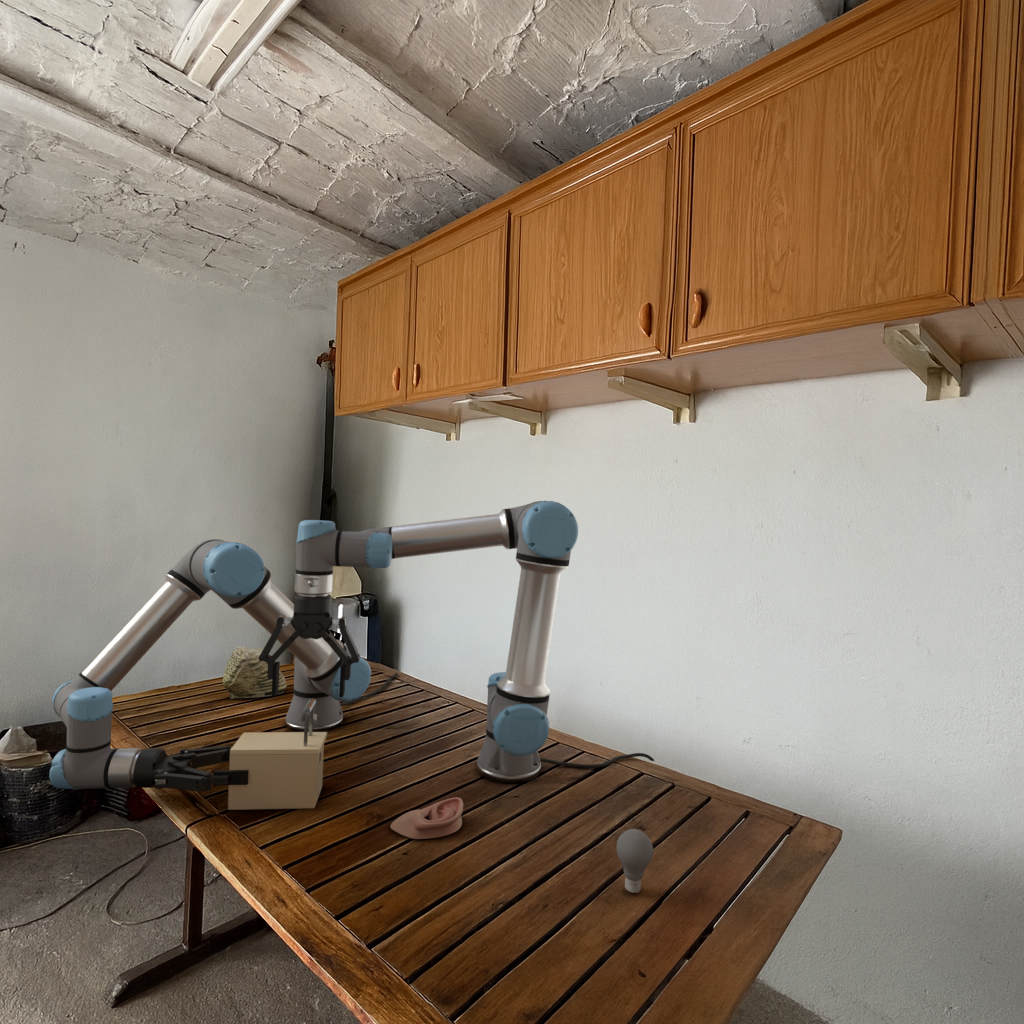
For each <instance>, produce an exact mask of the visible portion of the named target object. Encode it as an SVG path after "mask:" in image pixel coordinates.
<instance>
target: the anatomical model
mask: <svg viewBox="0 0 1024 1024" xmlns="http://www.w3.org/2000/svg"><path fill="white" fill-rule="evenodd" d="M463 812H464V801H463V799H462V797H450V798H446V799H443V800H440V801H438V802H435V803H433V804H430V805H428V806H426V807H424V808H421V809H413V810H410V811H408V812H405V813H404V814H402V815H400V816H398V817H397V818H395V819H394V820H393V821H392V822H391V824H390V829H391V830H392V831H394V832H395V833H397V834H399V835H401V836H403V837H405V838H409V839H412V840H425V839H427V840H428V839H435V838H441V837H445V836H448V835H452V834H453V833H456V832H457V831H459V830H460V829H461V827H462V825H463V819H462V814H463Z"/></svg>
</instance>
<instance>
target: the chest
mask: <svg viewBox="0 0 1024 1024" xmlns="http://www.w3.org/2000/svg"><path fill="white" fill-rule="evenodd" d="M324 750H325V744H324V745H323V747H322V749H321V752H320V754H259V755H230V764H229V767H228V768H229V769H228V770H249V772H248V784H247V785H228V795H227V810H228V811H229V810H230V811H236V810H237V811H238V810H239V811H241V810H287V809H288V810H291V809H292V810H293V809H296V810H297V809H315V808H316V805H317V802H318V799H319V797H320V794H321V791H322V788H323V781H324V780H323V778H324V777H323V776H324Z"/></svg>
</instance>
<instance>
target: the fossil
mask: <svg viewBox="0 0 1024 1024" xmlns="http://www.w3.org/2000/svg"><path fill="white" fill-rule="evenodd" d="M263 649H264V648H260V647H258V648H251V647H247V646H246V647H245V646H238V647H237V648H236V649H235V650H233V651H232V653H231V656H230V657H229V659H228V660H227V663H226V666H225V668H224V671H223V675H222V676H223V677H222V685H223V687H224V688H225V690H226V691H228V693H229V698H230V699H250V698H264V697H273V696H272V679H268V677H267V673H268V664H267V663H266V662H264V661H260V660H259V656H260V654H261V652H262V651H263ZM287 687H288V686H287V680H286V678H285V676H284V674H283V673H282V672H281V669H279V691H278V694H277V695H281V694H284V693H285V691H286V689H287Z"/></svg>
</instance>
